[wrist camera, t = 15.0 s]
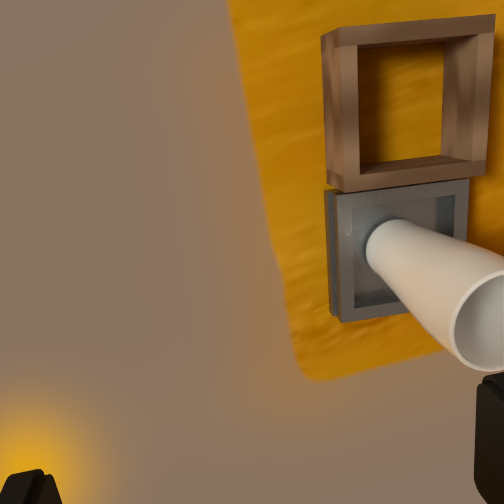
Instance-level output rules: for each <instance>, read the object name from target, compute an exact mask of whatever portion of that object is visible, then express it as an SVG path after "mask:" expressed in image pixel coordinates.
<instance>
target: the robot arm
mask: <svg viewBox="0 0 504 504" xmlns="http://www.w3.org/2000/svg"><path fill="white" fill-rule="evenodd" d="M474 458H475V459H474V481H475V484H476V487H477V489H478V491H479V493H480V495H481V496H482V497H483V498H484V500H485V501H486V502H487V504H504V372H501V373H497V374H492V375H487V376H485V377H484V378H483V380H482V384H479V385H478V387H477V398H476V428H475V457H474ZM0 504H62V501H61V498H60V495H59V492H58V489H57V487H56V483H55V480H54V478H53V476H52V475H51V474H48V475H44V472H43V471H42V470H41V469H35V470H31V471H26V472H21V473H17V474H12V475H10V476H9V477H8V478H7V480H6V482H5V484H4V486H3V489H2V491H1V493H0Z"/></svg>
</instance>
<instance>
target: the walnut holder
mask: <svg viewBox="0 0 504 504" xmlns="http://www.w3.org/2000/svg"><path fill="white" fill-rule="evenodd" d="M495 15H496V14H488V15H477V16H465V17H454V18H442V19H431V20H419V21H408V22H396V23H384V24H373V25H361V26H350V27H339V28H337V29H335V30H333V31H331V32H329V33H326V34H324V35H322V36H321V55H322V78H323V101H324V124H325V146H326V169H327V183H328V184H330V185H332V186H333V187H335V188H337V189H339V190H341V191H343V192H344V193H347V192H355V191H363V190H371V189H379V188H387V187H395V186H402V185H410V184H418V183H426V182H434V181H442V180H450V179H457V178H465V177H473V176H481V175H485V169H486V154H487V138H488V123H489V108H490V92H491V77H492V61H493V46H494V30H495ZM435 42H445V47H444V76H443V106H442V135H441V155H437V156H429V157H420V158H412V159H404V160H396V161H387V162H379V163H371V164H362V165H360V159H359V112H358V65H357V50H359V49H370V48H381V47H392V46H402V45H413V44H424V43H435Z"/></svg>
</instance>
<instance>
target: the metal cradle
mask: <svg viewBox="0 0 504 504" xmlns="http://www.w3.org/2000/svg"><path fill="white" fill-rule="evenodd" d="M469 183H470V179H469V178H466V177H465V178H457V179H450V180H442V181H434V182H426V183H418V184H410V185H402V186H395V187H387V188H379V189H371V190H363V191H355V192H347V193H344V192H343V191H341V190H339V189H331V190H324V201H325V223H326V244H327V266H328V287H329V309H330V313H331V314H332V315H333V316H337V317H338V319H339V320H340V322H341V323H345V322H351V321H357V320H364V319H370V318H376V317H383V316H389V315H395V314H401V313H408V312H409V310H408V309H407V308H406V307H405V306H404V304H403V303H402V302H401V301H400V300H399V298H398V297H397V296H396V295H395V294H394V292H393V291H392V290H391V289H390V288H389V286H388V285H387V284H386V283H385V282H384V281H383V279H382V278H381V277H380V276H379V275H377V274H376V273H375V272H374V271H373V270H372V269H371V267H370V266H369V264H368V261H367V258H366V245H367V242H368V239H369V237H370V235H371V234H372V233H373V231H374V230H375V229H376V228H377V227H378V226H380V225H381V224H383V223H385V222H387V221H390V220H394V219H404V220H408V221H411V222H413V223H415V224H417V225H419V226H421V227H424V228H427V229H430V230H433V231H435V232H438V233H441V234H444V235H447V236H450V237H453V238H456V239H459V240H462V241H465V242H466V238H467V219H468V201H469Z"/></svg>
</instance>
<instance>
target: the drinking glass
mask: <svg viewBox="0 0 504 504" xmlns="http://www.w3.org/2000/svg"><path fill="white" fill-rule="evenodd" d="M366 258H367V261H368V264H369V266H370V267H371V269H372V270H373V271H374V272H375V273H376V274H377V275H379V276H380V277H381V278H382V279H383V281H384V282H385V283H386V284H387V285H388V286H389V288H390V289H391V290H392V291H393V292H394V294H395V295H396V296H397V297H398V298H399V300H400V301H401V302H402V303H403V304H404V306H405V307H406V308H407V309H408V310H409V312H410V313H411V314H412V315H413V316H414V318H415V319H416V320H417V321H418V322H419V323H420V325H421V326H422V327H423V328H424V329H425V330H426V331H427V332H428V333H429V334H430V335H431V336H432V337H433V338H434V339H435V340H436V341H437V342H438V343H439V344H441V345H442V346H443V347H444V348H445V349H446V350H447V351H449V352H450V353H451V354H452V355H454V356H455V357H456V358H457V359H459V360H460V361H461V362H462V363H463V364H465V365H466V366H468V367H470V368H473V369H476V370H479V371H487V372H492V371H500V370H504V256H502V255H500V254H497V253H495V252H493V251H491V250H488V249H486V248H483V247H480V246H477V245H474V244H471V243H468V242H465V241H462V240H459V239H456V238H453V237H450V236H447V235H444V234H441V233H438V232H435V231H433V230H430V229H427V228H424V227H421V226H419V225H417V224H415V223H413V222H411V221H408V220H404V219H394V220H390V221H387V222H385V223H383V224H381V225H380V226H378V227H377V228H376V229H375V230H374V231H373V233H372V234H371V235H370V237H369V239H368V242H367V245H366Z"/></svg>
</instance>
